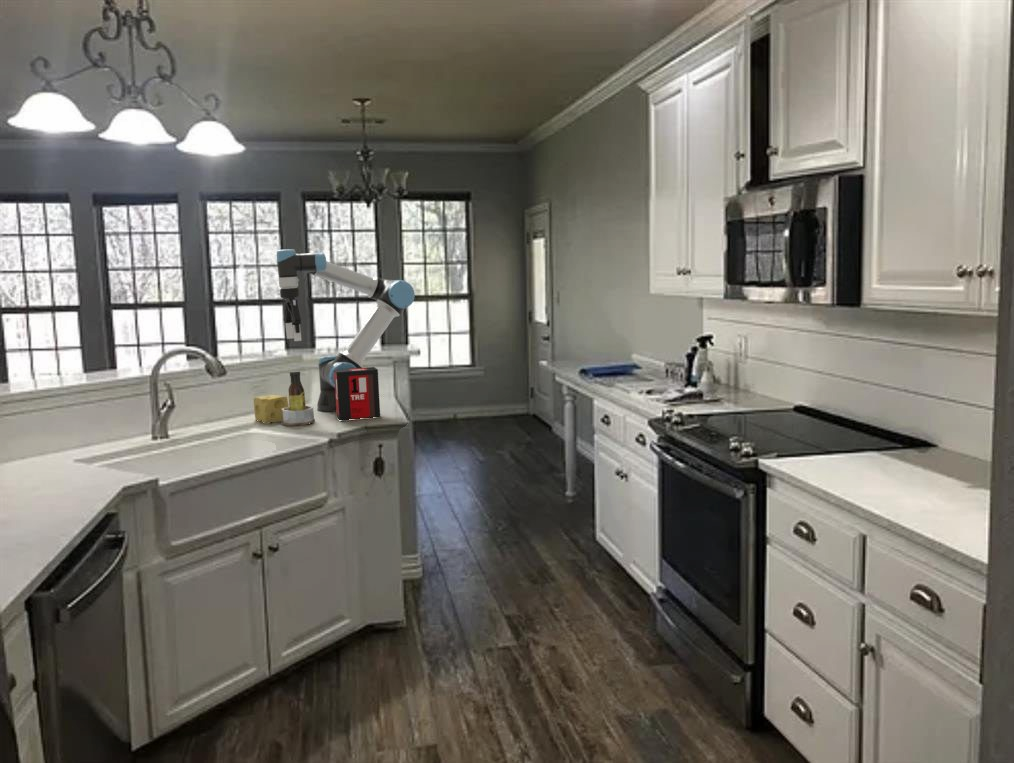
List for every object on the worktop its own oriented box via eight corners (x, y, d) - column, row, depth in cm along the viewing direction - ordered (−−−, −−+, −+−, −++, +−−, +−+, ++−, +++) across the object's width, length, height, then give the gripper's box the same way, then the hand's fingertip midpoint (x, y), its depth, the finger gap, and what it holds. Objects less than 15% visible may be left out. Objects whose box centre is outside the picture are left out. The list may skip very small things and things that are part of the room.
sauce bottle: (307, 421, 343) (304, 371, 340) (292, 422, 341) (288, 373, 338) (304, 418, 349) (301, 370, 346) (289, 420, 347) (285, 371, 344)
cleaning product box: (339, 421, 346) (336, 372, 343) (336, 417, 354) (333, 369, 351) (380, 417, 351) (377, 369, 348) (376, 414, 359) (374, 367, 356)
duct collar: (310, 416, 353) (310, 404, 352) (316, 421, 342) (315, 409, 341) (280, 419, 348) (279, 407, 348) (285, 424, 337) (284, 412, 337)
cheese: (265, 424, 346) (263, 399, 344) (253, 420, 354) (252, 396, 352) (289, 420, 353) (287, 396, 351) (277, 417, 361) (275, 393, 359)
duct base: (311, 418, 354) (311, 416, 354) (317, 423, 342) (317, 421, 342) (279, 421, 349) (279, 419, 349) (284, 427, 337) (284, 424, 337)
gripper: (305, 287, 339) (310, 340, 343) (291, 286, 361) (296, 336, 365) (286, 289, 336) (291, 342, 339) (273, 287, 358) (278, 338, 361)
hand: (294, 339), depth 352 cm, fingers open, 13 cm apart
